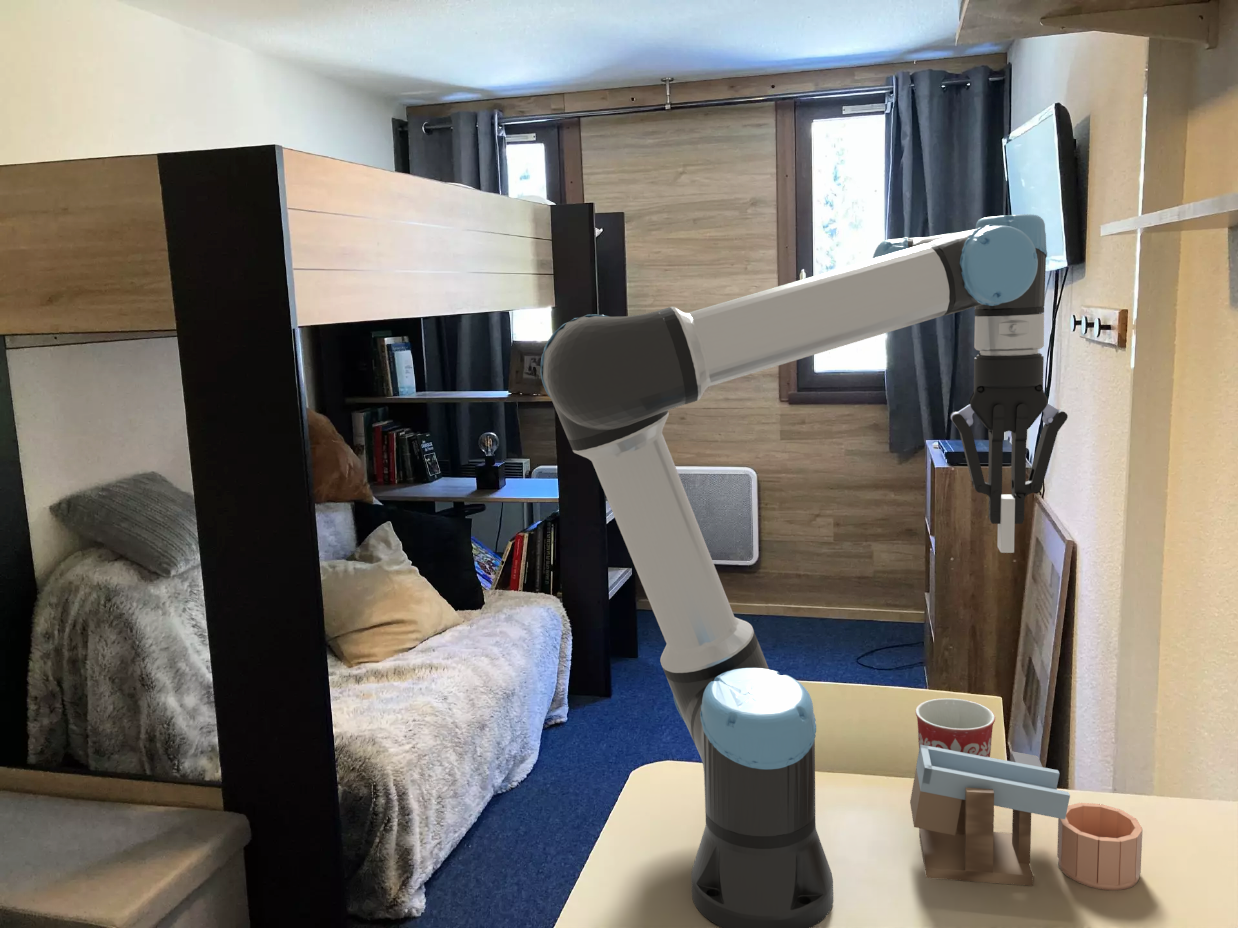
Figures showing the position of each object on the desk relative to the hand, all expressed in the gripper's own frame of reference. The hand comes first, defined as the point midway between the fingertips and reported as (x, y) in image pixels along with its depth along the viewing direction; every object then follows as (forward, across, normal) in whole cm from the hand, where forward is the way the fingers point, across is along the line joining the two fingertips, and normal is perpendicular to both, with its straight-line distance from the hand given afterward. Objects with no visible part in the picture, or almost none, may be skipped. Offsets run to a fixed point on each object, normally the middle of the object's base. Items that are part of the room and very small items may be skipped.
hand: (1005, 549), depth 119 cm
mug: (+33, -6, -3) cm, 33 cm away
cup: (+33, +8, -14) cm, 36 cm away
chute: (+28, -4, -11) cm, 31 cm away
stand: (+32, -5, -14) cm, 36 cm away
